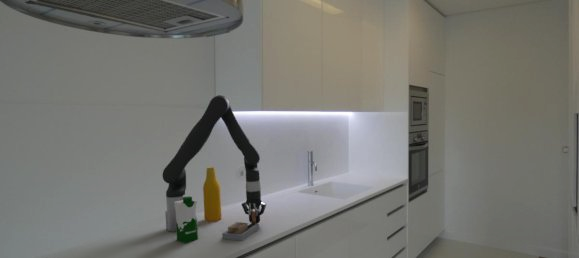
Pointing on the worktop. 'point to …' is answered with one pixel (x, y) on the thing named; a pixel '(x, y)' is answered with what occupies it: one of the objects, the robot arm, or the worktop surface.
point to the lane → (240, 236)
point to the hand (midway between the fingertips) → (254, 222)
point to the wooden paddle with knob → (242, 225)
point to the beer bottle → (211, 197)
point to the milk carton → (186, 219)
